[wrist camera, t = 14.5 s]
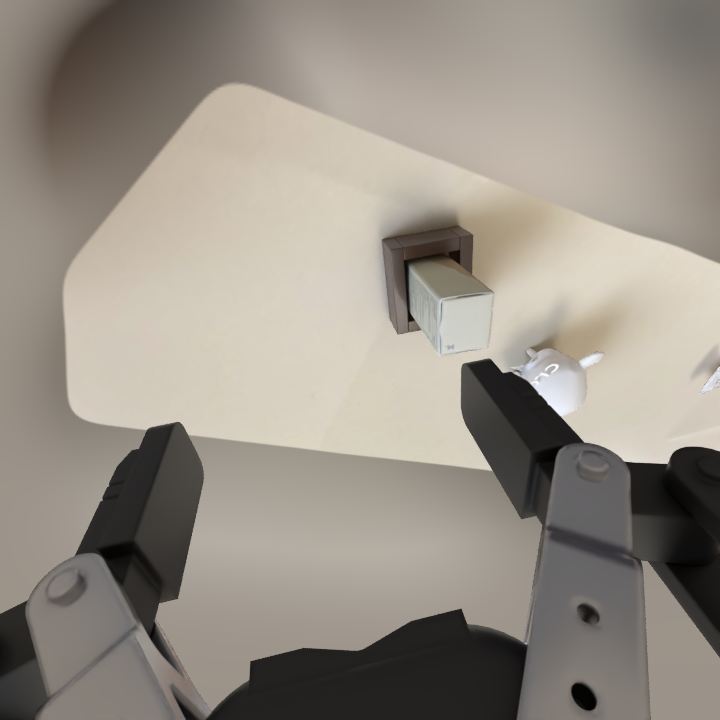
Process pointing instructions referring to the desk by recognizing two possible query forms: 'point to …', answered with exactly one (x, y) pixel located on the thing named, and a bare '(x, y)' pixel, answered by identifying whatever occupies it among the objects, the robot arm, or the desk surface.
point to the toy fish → (712, 382)
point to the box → (448, 304)
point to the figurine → (558, 378)
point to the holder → (414, 246)
